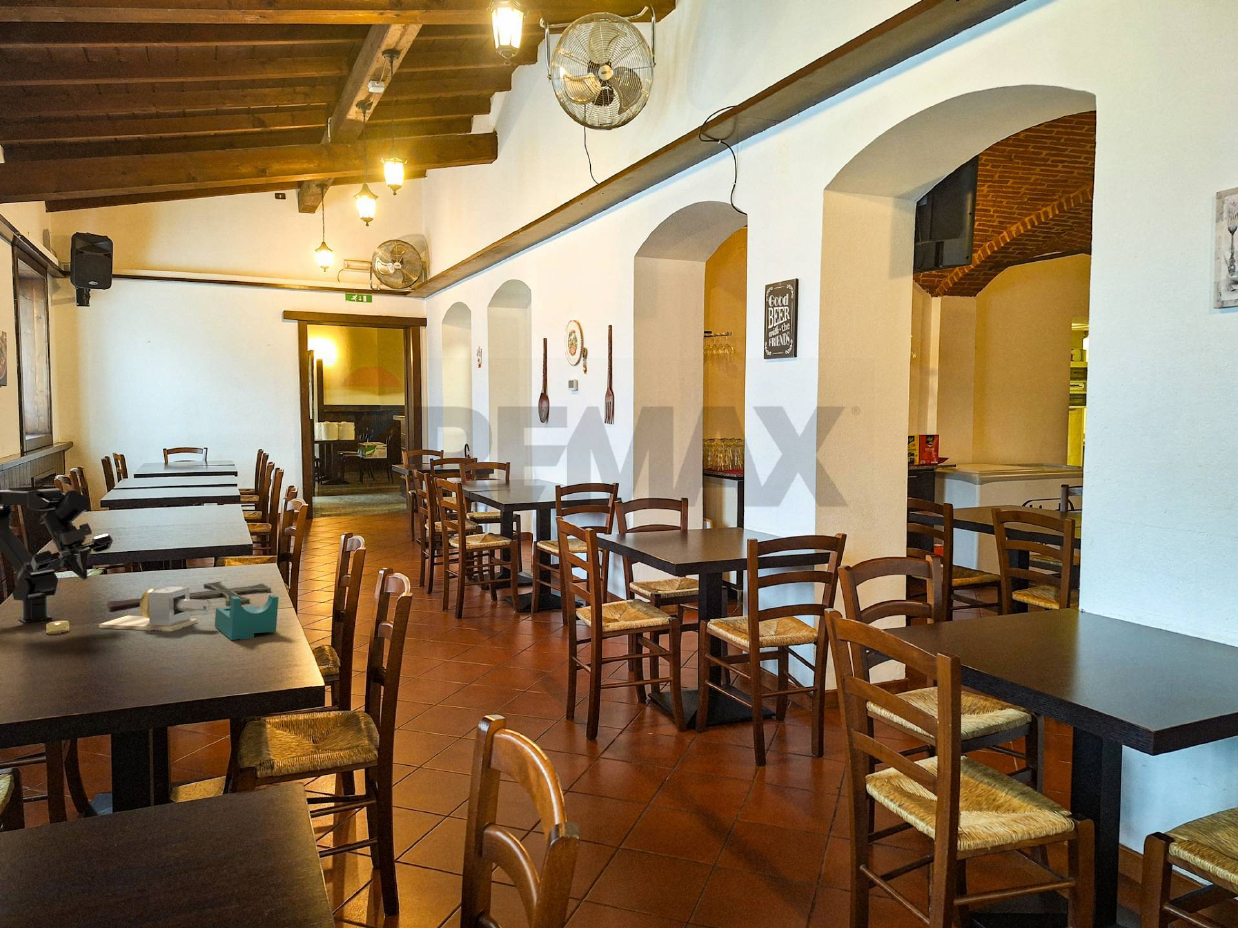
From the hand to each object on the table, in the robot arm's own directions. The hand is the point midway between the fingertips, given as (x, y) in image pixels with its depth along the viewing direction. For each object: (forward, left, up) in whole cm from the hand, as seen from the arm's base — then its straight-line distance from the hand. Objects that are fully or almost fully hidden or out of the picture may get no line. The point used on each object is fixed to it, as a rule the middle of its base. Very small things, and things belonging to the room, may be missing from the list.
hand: (85, 579), depth 227 cm
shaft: (+20, +15, -11) cm, 28 cm away
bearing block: (+18, +14, -12) cm, 26 cm away
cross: (-13, +34, -14) cm, 39 cm away
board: (+12, +11, -13) cm, 21 cm away
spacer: (+1, -7, -13) cm, 15 cm away
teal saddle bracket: (+39, +24, -13) cm, 47 cm away
